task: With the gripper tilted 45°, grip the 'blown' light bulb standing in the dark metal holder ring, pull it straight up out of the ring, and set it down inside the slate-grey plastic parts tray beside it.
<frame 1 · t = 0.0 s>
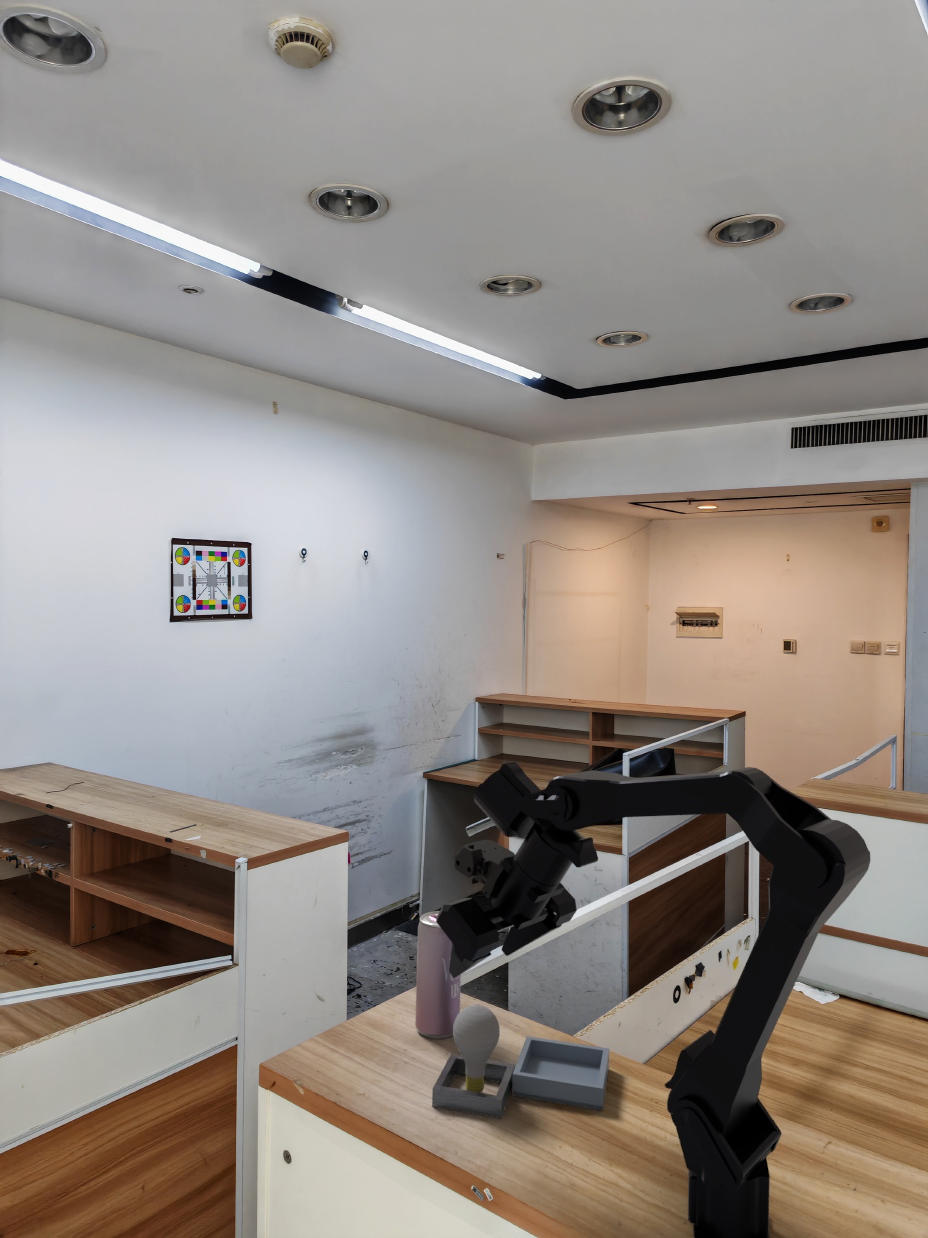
hand: (479, 963, 96), 15 cm above the table, tool tilted 35°, fingers open, 9 cm apart
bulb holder: (474, 1093, 95), on the table
light bulb: (474, 1095, 95), resting in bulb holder
parts tray: (562, 1082, 98), on the table
beverage can: (437, 1031, 110), on the table
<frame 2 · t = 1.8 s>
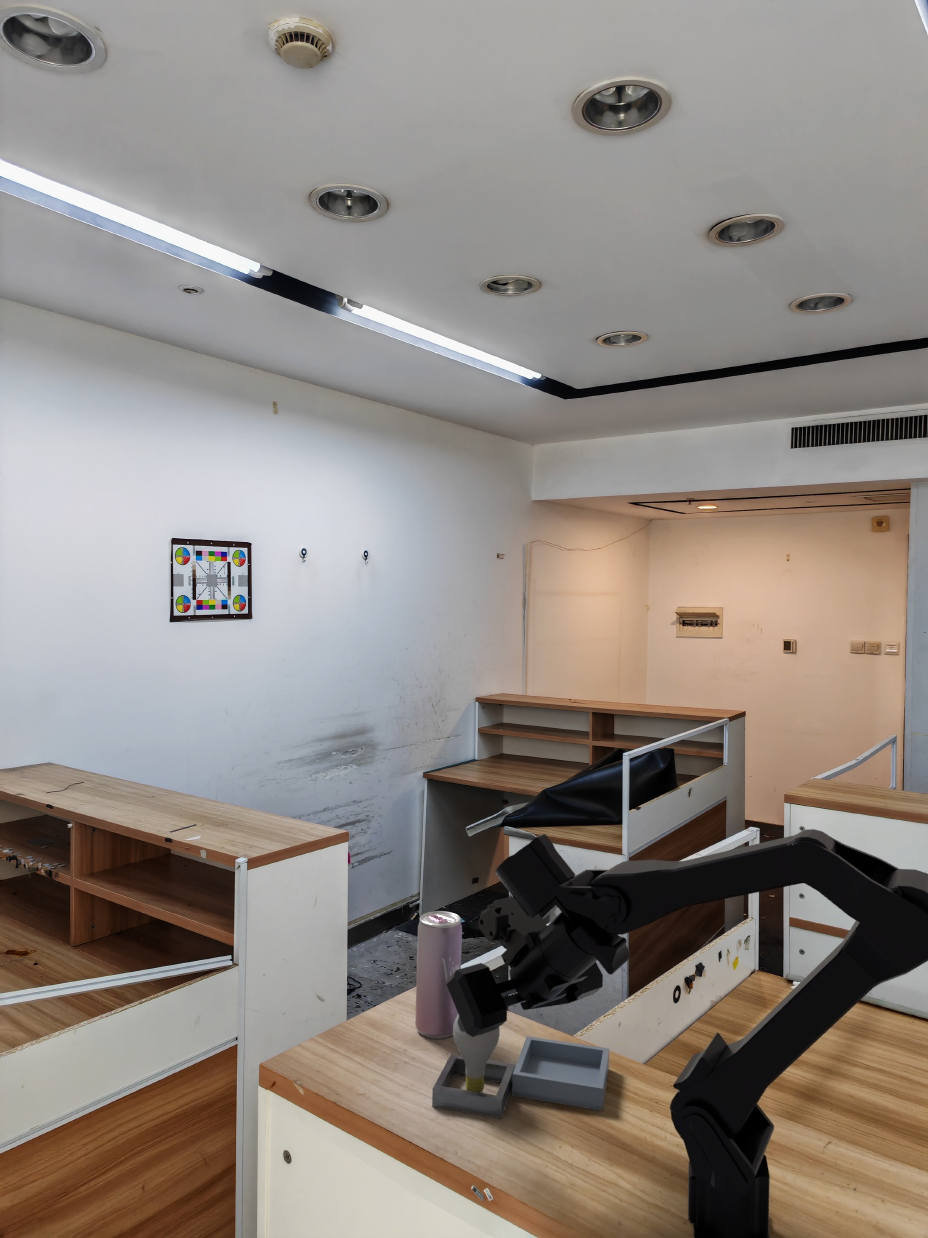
hand: (492, 1016, 93), 10 cm above the table, tool tilted 45°, fingers open, 9 cm apart
nothing on the table moved.
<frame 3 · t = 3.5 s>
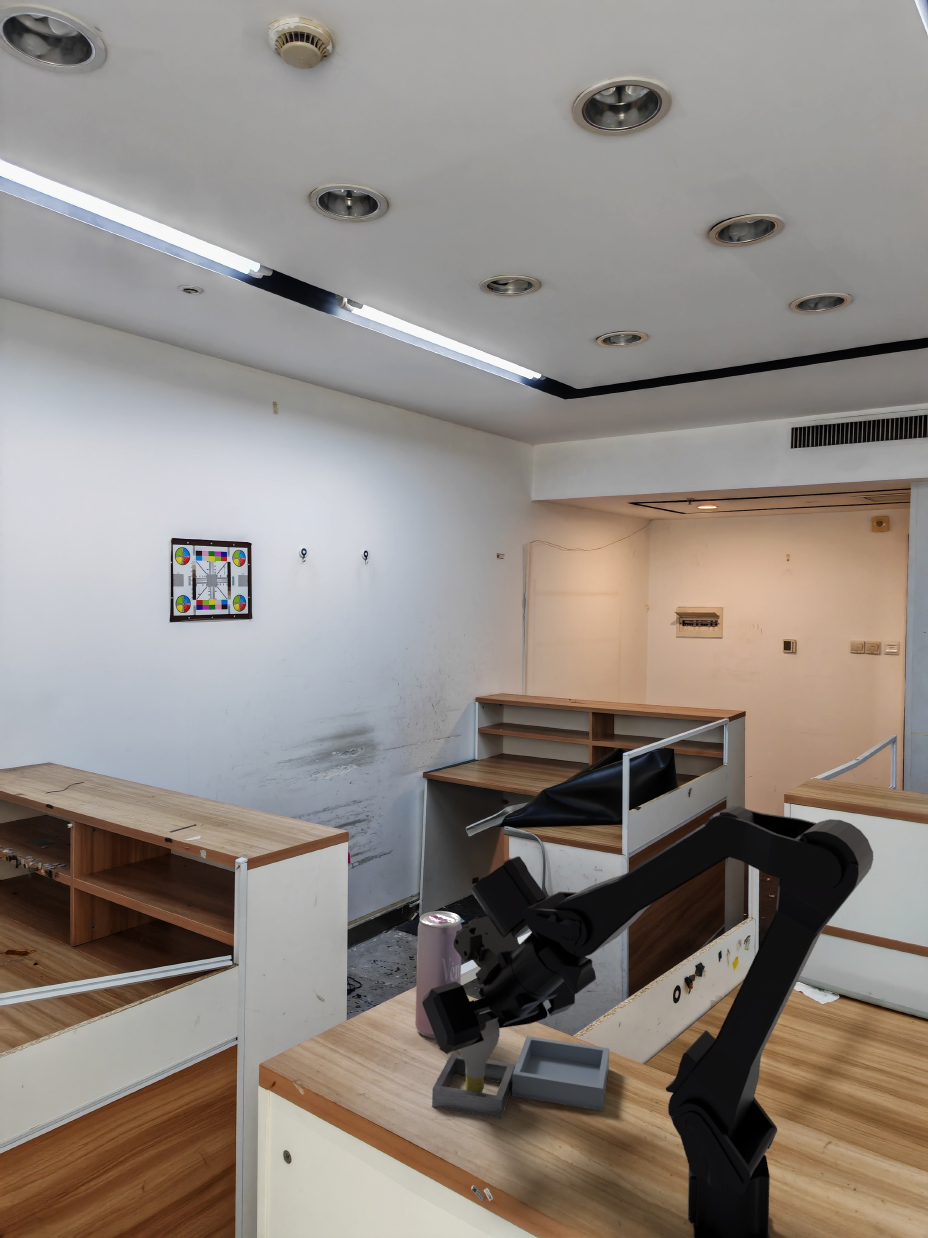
hand: (468, 1031, 96), 7 cm above the table, tool tilted 45°, fingers closed on light bulb, 5 cm apart
light bulb: (474, 1095, 95), resting in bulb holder, touching gripper
everything else where it was.
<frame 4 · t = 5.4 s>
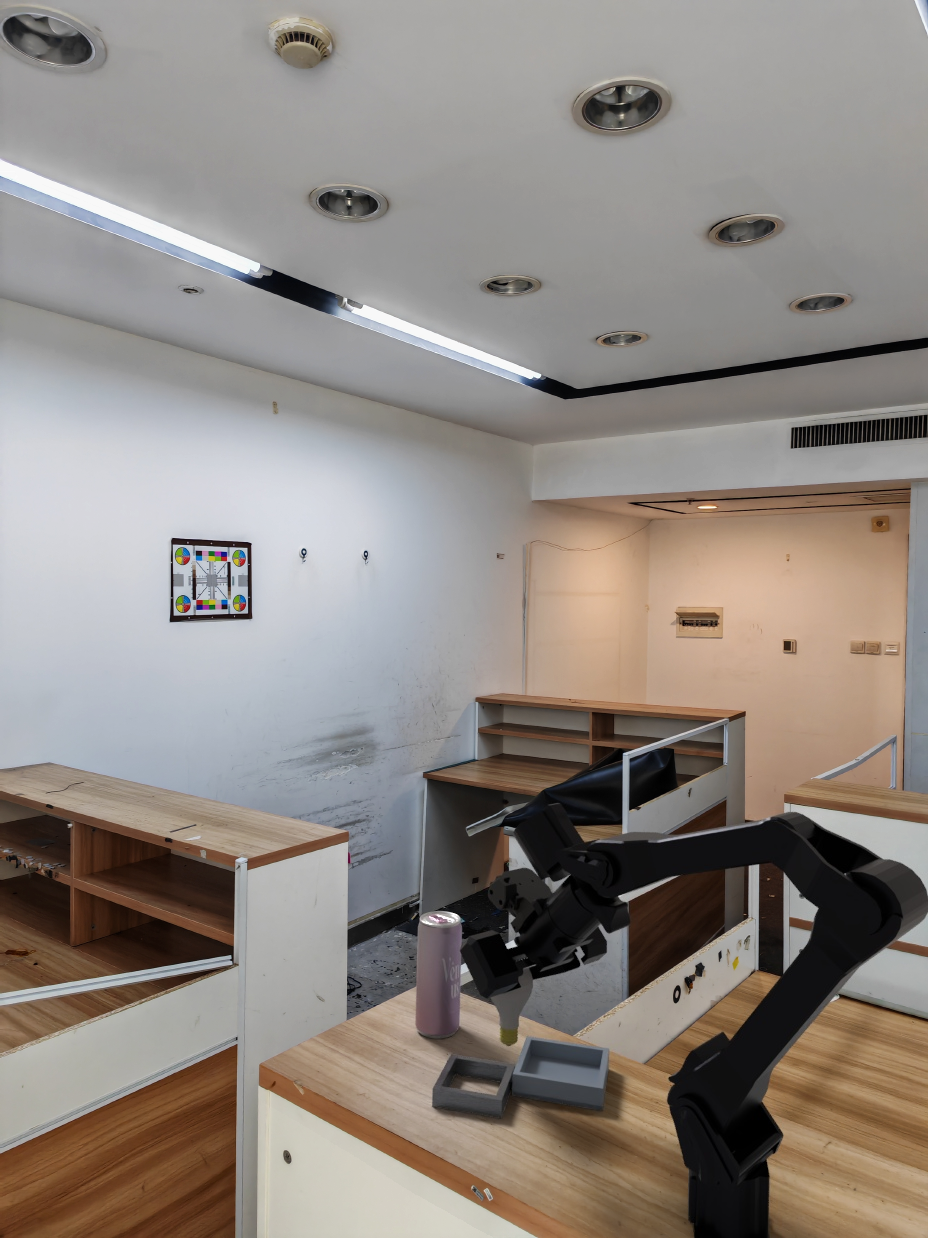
hand: (502, 984, 97), 12 cm above the table, tool tilted 45°, fingers closed on light bulb, 5 cm apart
light bulb: (508, 1047, 96), point 5 cm above the table, touching gripper
everything else where it was.
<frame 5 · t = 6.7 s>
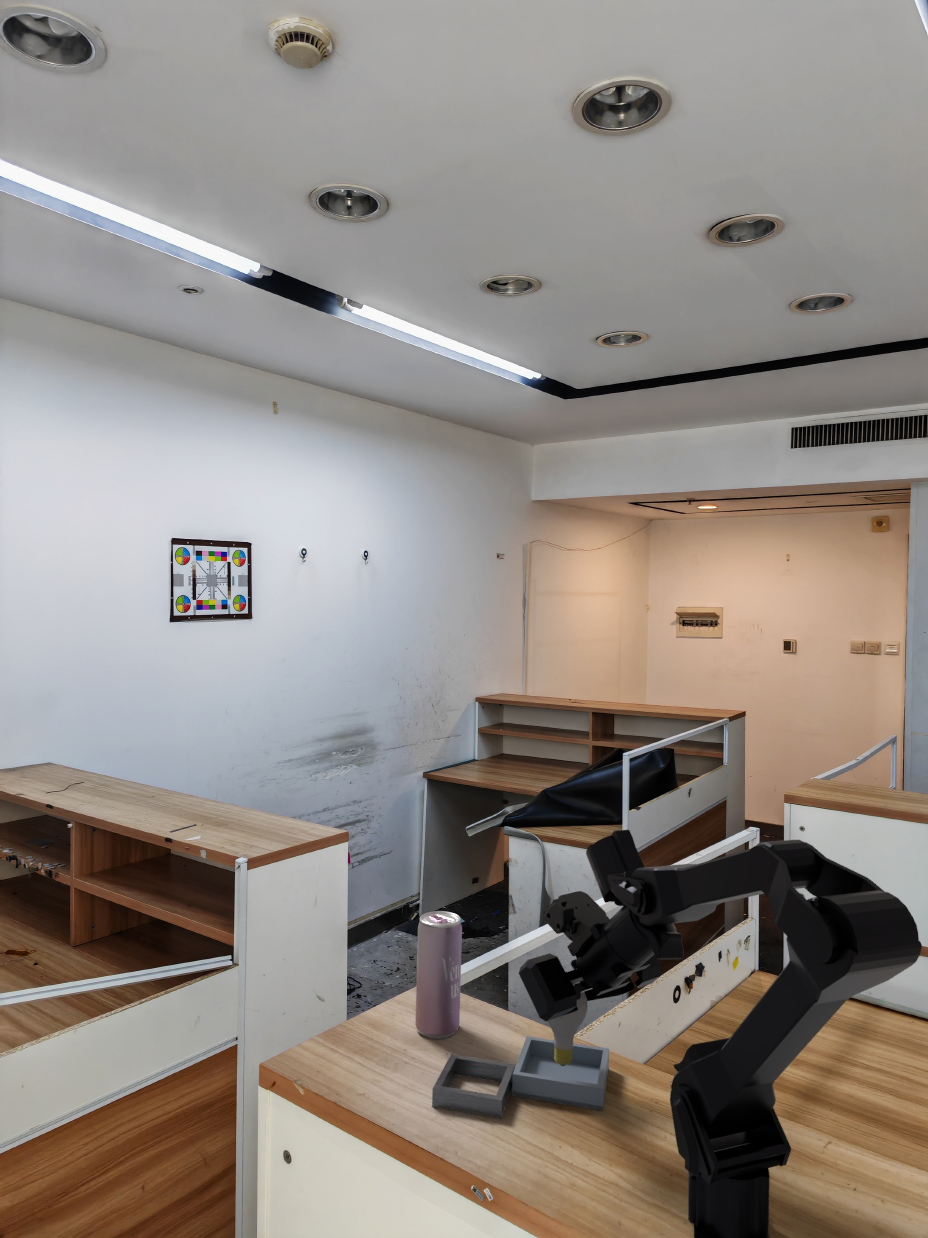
hand: (556, 1005, 99), 9 cm above the table, tool tilted 45°, fingers closed on light bulb, 5 cm apart
light bulb: (563, 1067, 98), point 2 cm above the table, touching gripper
everything else where it was.
when the fingers open (8 cm above the table, at t = 7.3 s): light bulb stays where it is, resting on parts tray.
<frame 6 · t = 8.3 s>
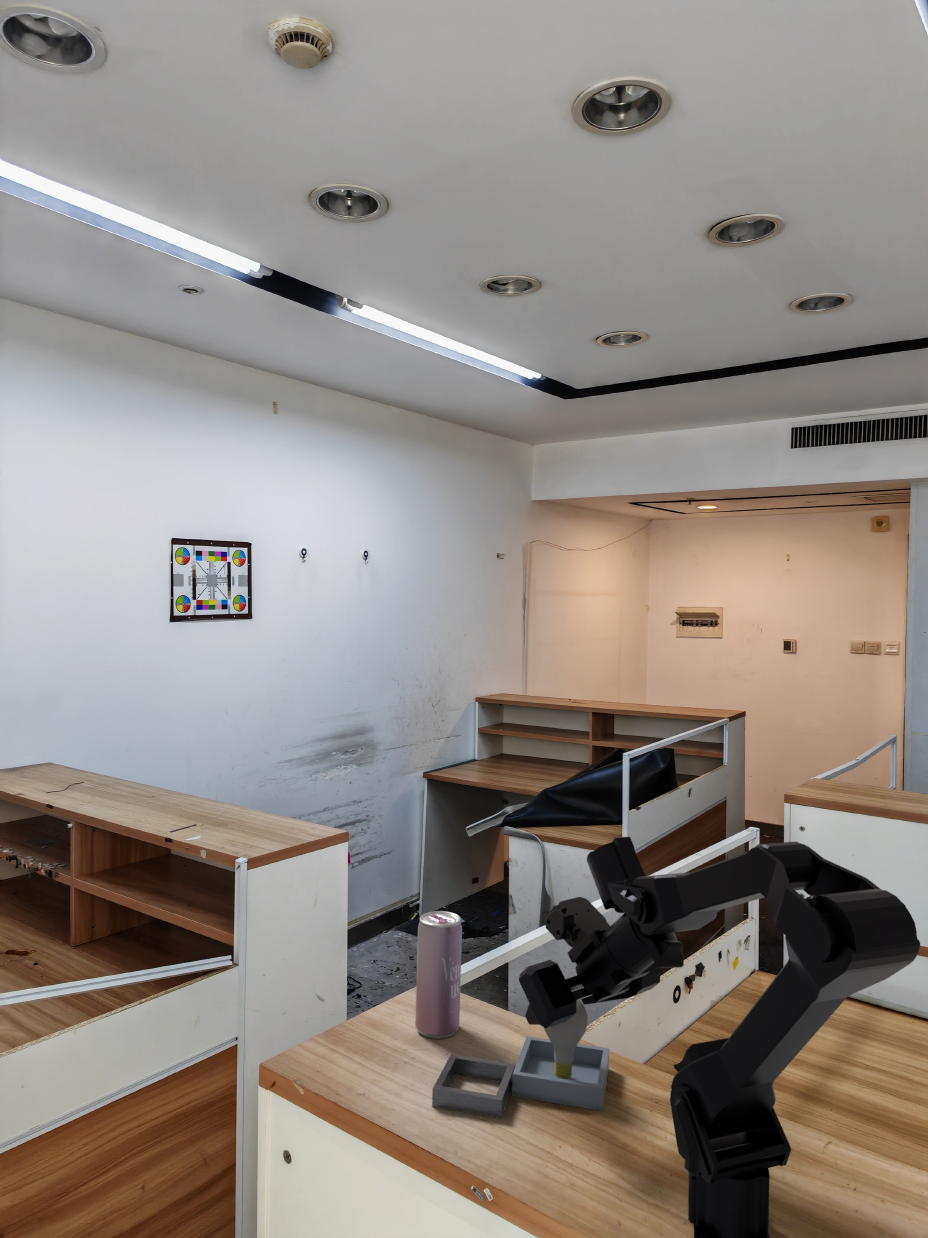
hand: (556, 1010, 99), 8 cm above the table, tool tilted 45°, fingers open, 9 cm apart
light bulb: (563, 1080, 98), resting on parts tray
everything else where it was.
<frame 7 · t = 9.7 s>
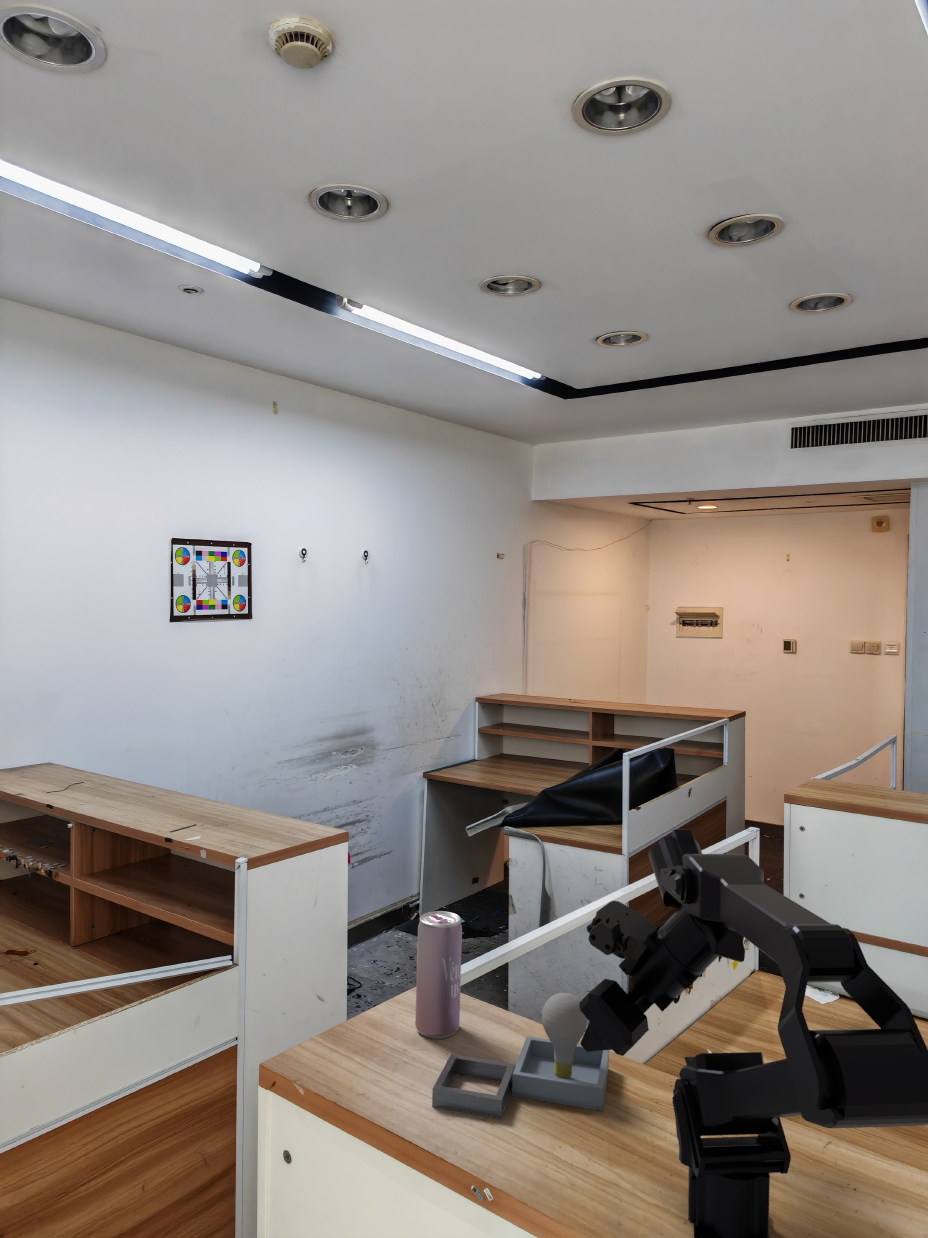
hand: (605, 1027, 91), 10 cm above the table, tool tilted 40°, fingers open, 9 cm apart
nothing on the table moved.
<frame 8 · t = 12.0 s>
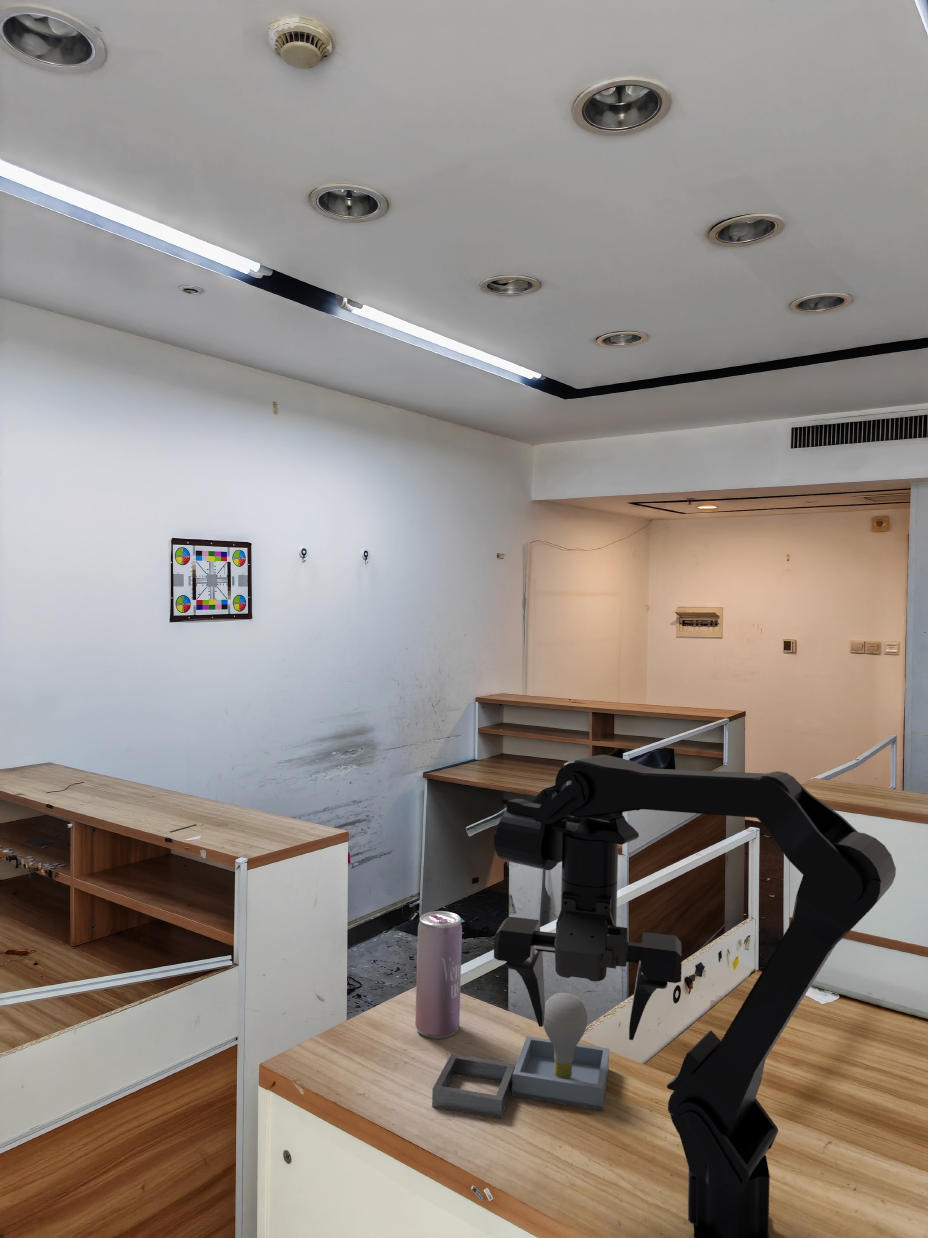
hand: (585, 1031, 84), 13 cm above the table, tool pointing down, fingers open, 9 cm apart
nothing on the table moved.
at the end: light bulb inside the target area on the parts tray (0.2 cm from its centre), point 0.3 cm above the parts tray's base; the gripper is holding nothing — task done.
